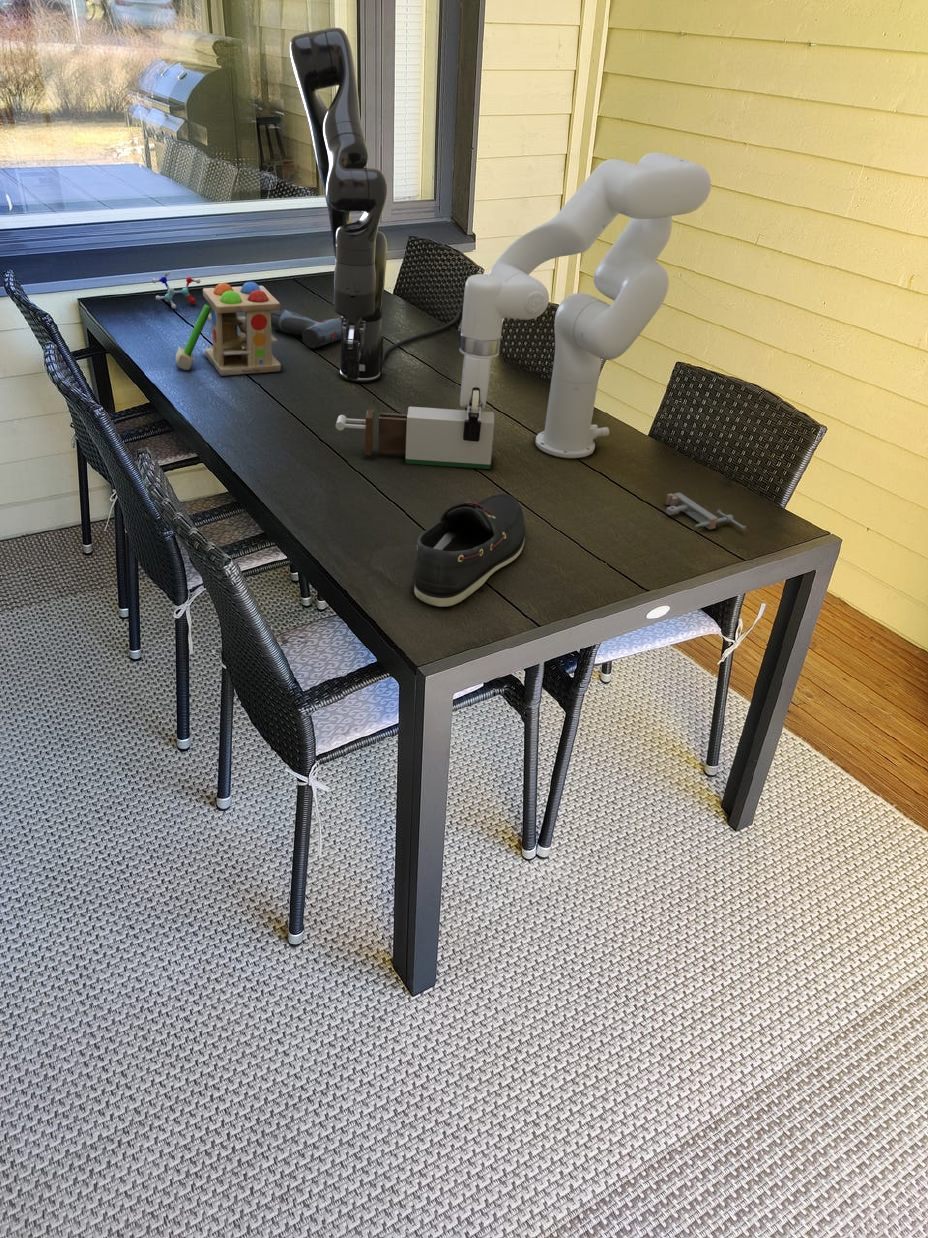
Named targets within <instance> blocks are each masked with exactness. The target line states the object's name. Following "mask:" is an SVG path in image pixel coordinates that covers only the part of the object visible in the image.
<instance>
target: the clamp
mask: <svg viewBox="0 0 928 1238" xmlns="http://www.w3.org/2000/svg"><path fill="white" fill-rule="evenodd" d="M665 505H666V506H667V507H666V509H665V513H666V514H667V515H669V516H673V515H677V514H679V513H680V512H683V513H684V514H685V515H687V516H689V517H690V518H692V519H693V520H695V521H696V522H697V524H695V525H694V527H695V528H703V527H704V528H706V529H708V530H713V529H716V528H717V527H716V525H717V524H719V523H732V524H734V525H736V526H737V527H739V528H740V529H741V531H742V532H743V531H746V529H747V526H746V525H742V524H741V523H739V522H738V521H736V520H735V519H734V516H733V515H732V514H725V513H723V512H722V510H721V509H718V510H717V511H716V515H720V516H721V517H720V518H719V517H717V516H716V515H714V514H712V512H710V511H709V510H707V509H705V508H704V507H702V506H701V505H699V504H698V503H697V502H695V501H693V500H692V499H690V498H689V497H688V496H685V495H684V494H683V493H681V492H675V493H667V496H666V500H665Z"/></svg>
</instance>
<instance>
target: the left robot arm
mask: <svg viewBox="0 0 928 1238" xmlns="http://www.w3.org/2000/svg"><path fill="white" fill-rule="evenodd" d="M289 53H290V54H289V55H290V60H291V64H292V68H293V72H294V75H295V79H296V83H297V86H298V90H299V92H300V97H301V100H302V104H303V107H304V110H305V114H306V118H307V121H308V126H309V131H310V136H311V140H312V146H313V150H314V157H315V161H316V164H317V165H316V167H317V170H318V175H319V178H320V182H321V185H322V190H323V195H324V198H325V203H326V207H327V212H328V219H329V227H330V233H331V234H330V235H331V241H332V248H333V254H334V259H335V264H334V271H333V310H334V313H336V314H337V315H339V316H340V318H341V338H340V369H339V376H340V377H341V378H342V380H345V381H348V382H352V383H359V384H360V383H361V384H364V383H365V384H366V383H367V384H369V383H373V382H376V381H378V380H380V378H381V375H382V374H383V363H384V361H385V359H386V357H387V355H388V354H389V353H390V352H391V351H393V350H395V349H396V348H399V347H401V346H403V345H406V344H407V343H411V342H413V341H416V340H419V339H422V338H425V337H428V336H431V335H433V334H436V333H439V332H441V331H444V330H446V329H447V328H449V327H451V326H453V325H454V324H455V323H456V322H458V320H459V319H460V316H462V315H463V311H462V310H461V309H457V312H456V315H455V318H453V319H452V320H451V321H448V322H447V323H446V324H444V325H442V326H439V327H437V328H435V329H431V330H429V331H426V332H423V333H420V334H415V335H414V336H411V337H408V338H405V339H403V340H401V341H399V342H396V343H394V344H392V345H390V346H389V347H387V348H386V349H385V350H384V335H383V334H382V323H383V299H384V298H383V297H384V291H385V285H386V284H385V282H386V280H385V279H386V271H387V269H386V268H387V260H388V259H387V258H388V243H387V238H386V236H385V234H384V233H383V232H382V231H379V230H378V229H379V226H380V221H381V218H382V214H383V212H384V209H385V205H386V203H387V198H388V192H389V191H388V190H389V188H388V186H389V185H388V181H387V178H386V177H385V175H384V173H383V172H382V171H381V170H380V169H378V168H375V167H367V165H368V163H369V162H368V161H369V150H368V147H367V142H366V138H365V137H366V136H365V134H364V130H363V125H362V120H361V114H360V113H361V112H360V102H359V91H358V90H359V89H358V82H357V76H356V75H357V74H356V68H355V67H356V66H355V61H354V55H353V50H352V46H351V43H350V40H349V37H348V35H347V33H346V32H345V30H344V29H343V28H341V27H329V28H323V29H318V30H313V31H308V32H303V33H299V34H296V35H294V36H292V37H291V39H290V42H289ZM333 87H338V88H337V90H336V93H335V94H334V97H333V99H332V101H331V103H330V104H329V106H327V105H326V104H325V102H324V100H323V99H322V97H321V96H320V93H319V90H322V89H324V90H325V89H328V88H333ZM352 212H353V213H362V215H361V217H360V218H359V219H357V220H356V221H353V220H352V215H351V214H352ZM460 310H461V311H460Z"/></svg>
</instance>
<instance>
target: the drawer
mask: <svg viewBox="0 0 928 1238" xmlns="http://www.w3.org/2000/svg"><path fill="white" fill-rule="evenodd" d="M374 410H375V409H372V408H371V409H367V410H366V414H365V419H364V418H363V419H362V418H361V419H360V418H347V416H346V415H345V414H340V415H338V417H337V419H336V423H335V428H336V430H337V431H344V430H345V428H347V429H358V430H359V429H360V430H365V431H364V433H365V434H364V435H365V439H364V440H365V441H364V442H365V443H364V446H365V447H364V455H365V456H372V453H373V449H374V427H375V425H374V421H375V420H374V419H375V417H374V416H375V411H374ZM407 414H408V413H407ZM407 414H406V413H394V412H393V413H391V412H379V416H378V440H377V441H378V442H377V443H378V445H377V448H378V449H377V453H378V454H390V455H402V456H403V455H405V456H406V430H407Z"/></svg>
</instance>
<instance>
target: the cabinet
mask: <svg viewBox="0 0 928 1238" xmlns="http://www.w3.org/2000/svg"><path fill="white" fill-rule="evenodd" d="M470 412H471V411H470ZM470 412H469V413H470ZM466 415H467V410H465V409H451V408H439V407H424V406H423V407H421V406H408V408H407V430H406V455H405V460H404V464H410V465H423V466H424V465H426V466H440V467H451V468H452V467H454V468H467V469H469V468H470V469H485V470H491V465H492V455H493V454H492V452H493V444H494V443H493V441H494V431H495V430H494V429H495V411H482V410H481V418H480V422H481V429H480V439H479V441H478V442H476V441H465V440H463V433H464V422H465V420H466Z"/></svg>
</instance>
